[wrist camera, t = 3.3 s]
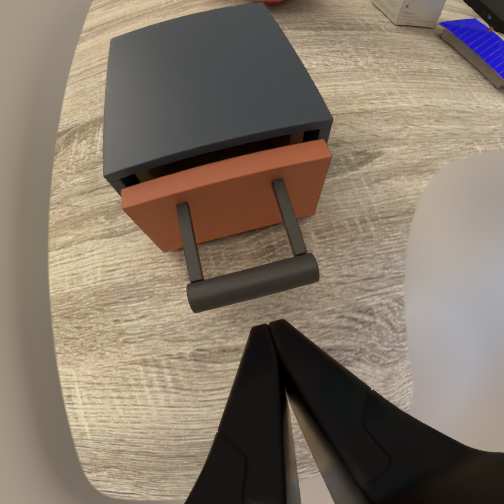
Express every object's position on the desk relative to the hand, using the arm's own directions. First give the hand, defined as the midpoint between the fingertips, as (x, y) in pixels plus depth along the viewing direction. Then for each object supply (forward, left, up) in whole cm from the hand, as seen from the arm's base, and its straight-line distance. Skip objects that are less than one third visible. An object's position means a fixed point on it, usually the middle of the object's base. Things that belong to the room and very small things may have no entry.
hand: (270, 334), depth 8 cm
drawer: (+6, -9, -12) cm, 16 cm away
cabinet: (+9, -13, -13) cm, 21 cm away
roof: (-18, -43, -13) cm, 49 cm away
